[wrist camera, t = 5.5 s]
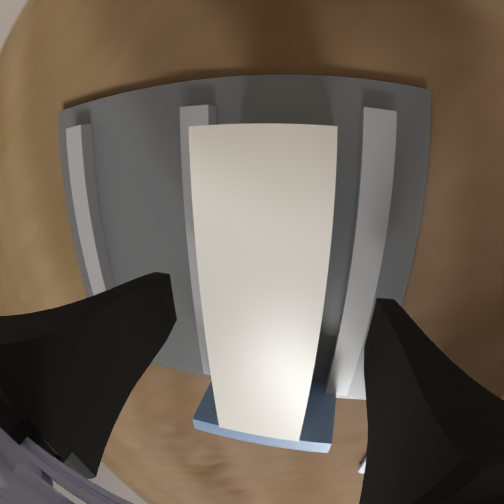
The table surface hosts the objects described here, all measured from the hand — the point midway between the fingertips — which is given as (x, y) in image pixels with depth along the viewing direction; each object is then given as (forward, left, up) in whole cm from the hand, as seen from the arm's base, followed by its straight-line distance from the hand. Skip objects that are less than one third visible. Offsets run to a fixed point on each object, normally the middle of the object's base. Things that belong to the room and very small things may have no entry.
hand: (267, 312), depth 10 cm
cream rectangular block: (0, 0, -3) cm, 3 cm away
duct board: (+3, 0, -4) cm, 5 cm away
